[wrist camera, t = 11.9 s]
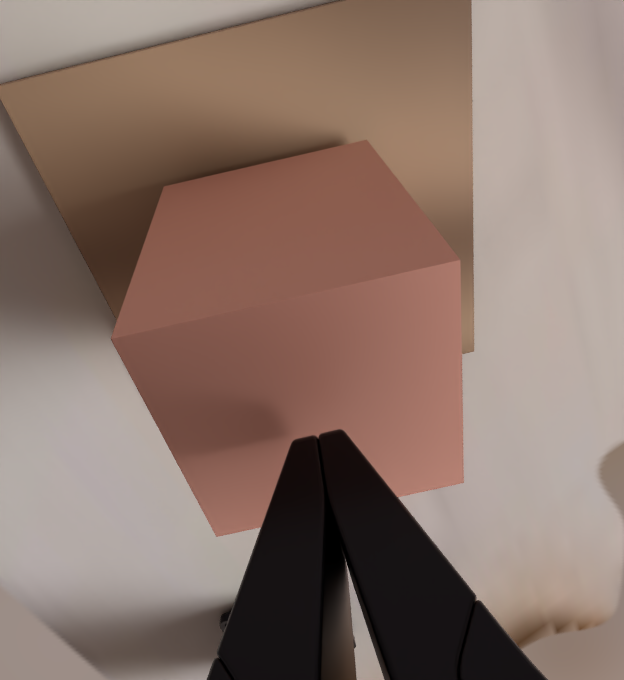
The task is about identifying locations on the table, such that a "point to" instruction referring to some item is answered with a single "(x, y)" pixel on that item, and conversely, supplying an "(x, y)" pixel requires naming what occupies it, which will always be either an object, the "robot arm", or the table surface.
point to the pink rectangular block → (296, 328)
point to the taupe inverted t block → (257, 119)
